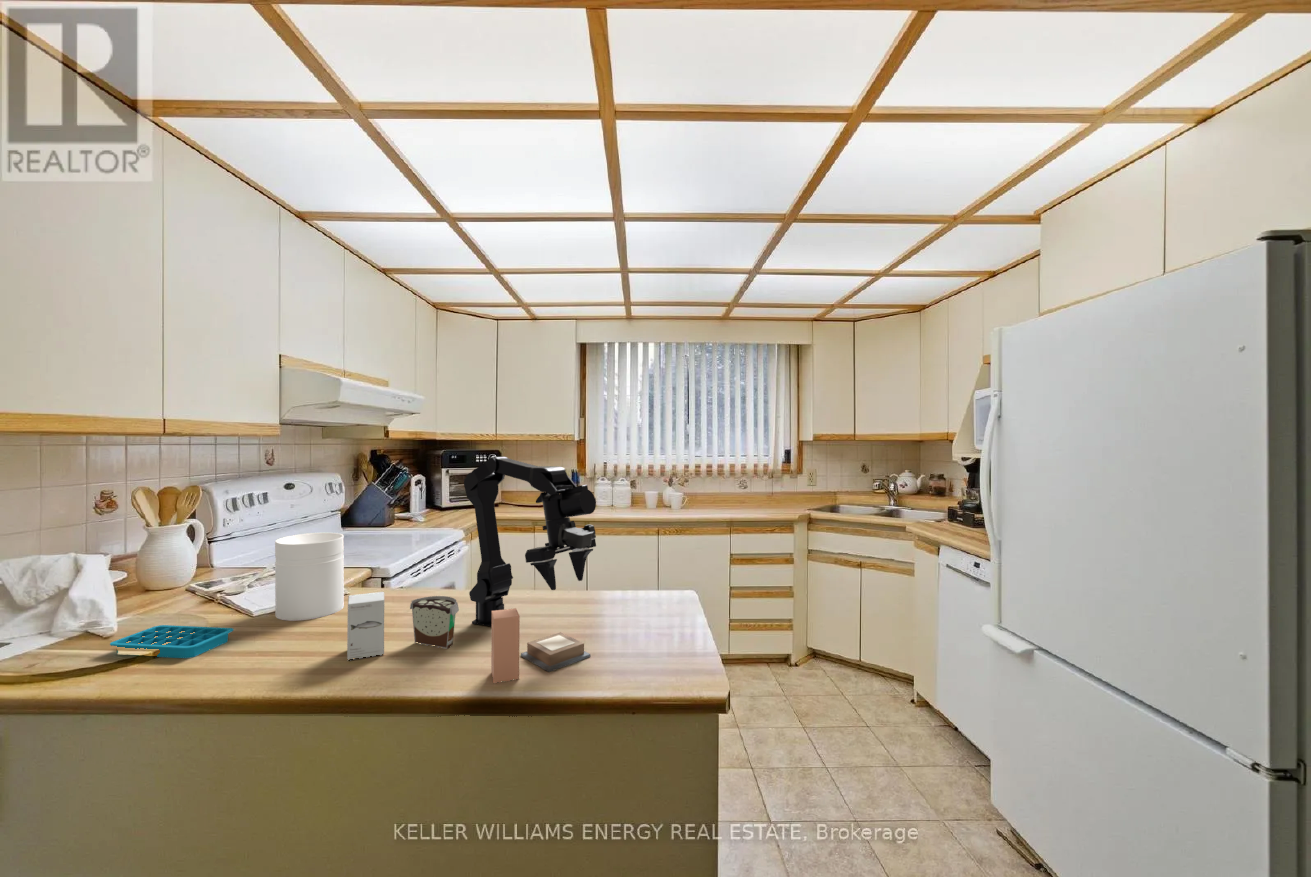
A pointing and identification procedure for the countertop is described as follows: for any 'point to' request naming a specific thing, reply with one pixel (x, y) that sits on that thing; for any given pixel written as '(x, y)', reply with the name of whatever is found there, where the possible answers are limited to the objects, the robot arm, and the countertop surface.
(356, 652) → the supplement box
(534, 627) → the countertop surface
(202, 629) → the ice cube tray
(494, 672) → the terracotta block
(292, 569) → the canister
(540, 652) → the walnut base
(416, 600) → the food container
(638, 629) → the countertop surface
